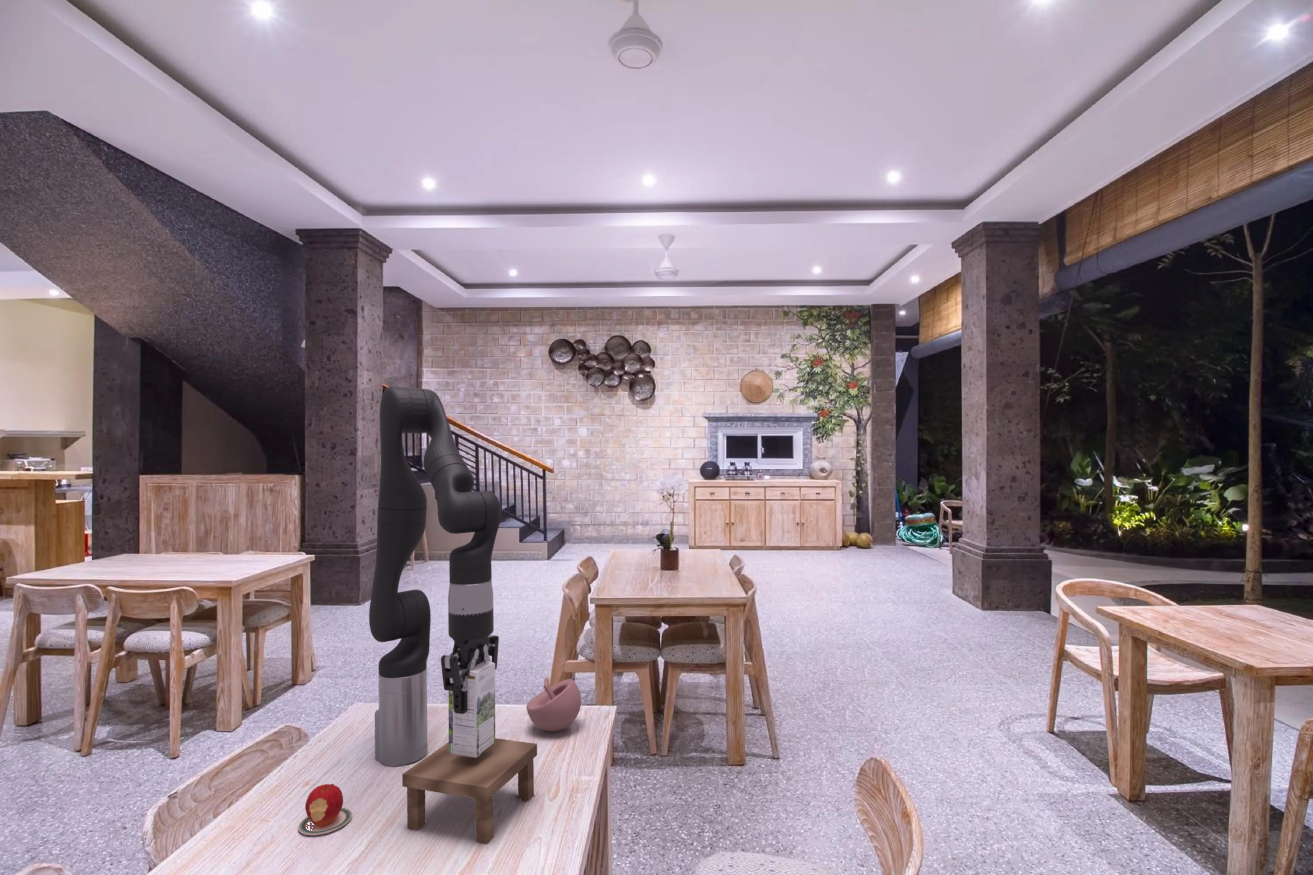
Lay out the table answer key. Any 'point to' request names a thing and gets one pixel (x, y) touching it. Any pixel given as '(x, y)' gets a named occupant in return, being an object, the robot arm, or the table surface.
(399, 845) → the table surface
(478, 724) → the syrup box
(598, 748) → the table surface
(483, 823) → the walnut stool
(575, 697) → the mortar and pestle
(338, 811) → the apple
